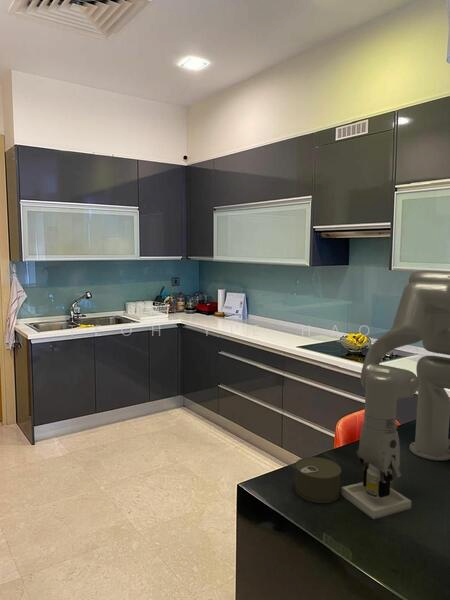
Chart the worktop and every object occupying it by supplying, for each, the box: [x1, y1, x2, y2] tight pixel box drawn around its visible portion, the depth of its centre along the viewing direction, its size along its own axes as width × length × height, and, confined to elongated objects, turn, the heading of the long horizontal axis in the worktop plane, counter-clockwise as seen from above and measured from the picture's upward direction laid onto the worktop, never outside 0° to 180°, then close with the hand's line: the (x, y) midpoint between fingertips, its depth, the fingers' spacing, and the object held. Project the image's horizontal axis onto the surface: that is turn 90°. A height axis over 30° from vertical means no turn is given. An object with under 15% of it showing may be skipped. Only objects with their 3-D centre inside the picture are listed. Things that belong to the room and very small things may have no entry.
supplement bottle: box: [366, 463, 387, 499], centre depth 114 cm, size 5×5×8 cm
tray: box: [340, 481, 412, 520], centre depth 114 cm, size 12×12×2 cm
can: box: [294, 456, 342, 504], centre depth 118 cm, size 12×12×7 cm
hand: (376, 489), depth 114 cm, fingers closed on supplement bottle, 4 cm apart
